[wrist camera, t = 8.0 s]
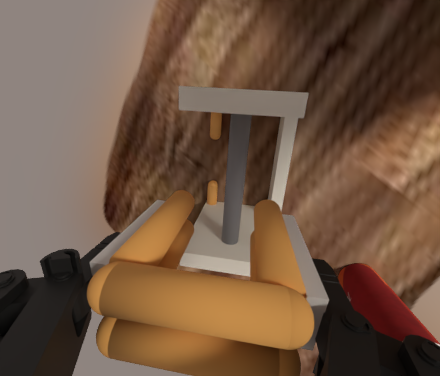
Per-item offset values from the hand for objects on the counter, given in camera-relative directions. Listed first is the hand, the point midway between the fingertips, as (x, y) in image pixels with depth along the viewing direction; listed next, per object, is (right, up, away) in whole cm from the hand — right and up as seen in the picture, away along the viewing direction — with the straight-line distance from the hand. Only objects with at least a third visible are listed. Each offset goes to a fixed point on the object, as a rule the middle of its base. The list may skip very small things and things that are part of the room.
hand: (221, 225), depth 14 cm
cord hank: (0, 0, +1) cm, 1 cm away
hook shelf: (+3, +7, +18) cm, 19 cm away
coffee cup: (+24, -13, +22) cm, 35 cm away
